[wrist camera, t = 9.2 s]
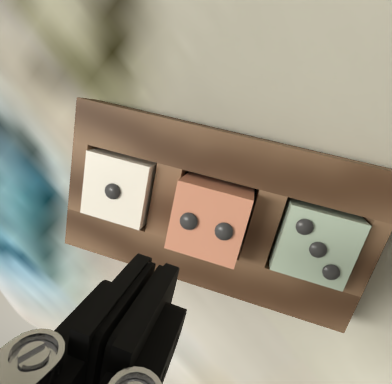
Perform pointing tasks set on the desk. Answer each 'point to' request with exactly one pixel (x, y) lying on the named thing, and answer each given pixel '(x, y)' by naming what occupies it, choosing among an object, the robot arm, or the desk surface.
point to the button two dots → (209, 219)
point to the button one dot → (117, 187)
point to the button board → (260, 213)
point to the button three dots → (317, 243)
